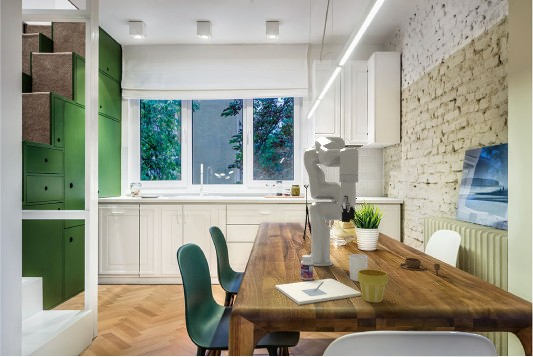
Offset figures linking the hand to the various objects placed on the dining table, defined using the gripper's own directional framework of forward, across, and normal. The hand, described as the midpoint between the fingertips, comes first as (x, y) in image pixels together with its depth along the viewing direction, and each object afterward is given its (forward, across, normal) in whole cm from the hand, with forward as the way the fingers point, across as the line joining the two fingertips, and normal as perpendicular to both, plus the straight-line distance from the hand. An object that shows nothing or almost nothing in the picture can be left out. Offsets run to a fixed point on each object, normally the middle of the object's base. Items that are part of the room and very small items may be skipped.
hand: (348, 220), depth 144 cm
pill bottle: (+26, 0, -18) cm, 32 cm away
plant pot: (+26, +15, +12) cm, 32 cm away
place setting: (+27, -36, +24) cm, 51 cm away
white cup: (+26, -9, +2) cm, 28 cm away
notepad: (+26, +15, -9) cm, 31 cm away
